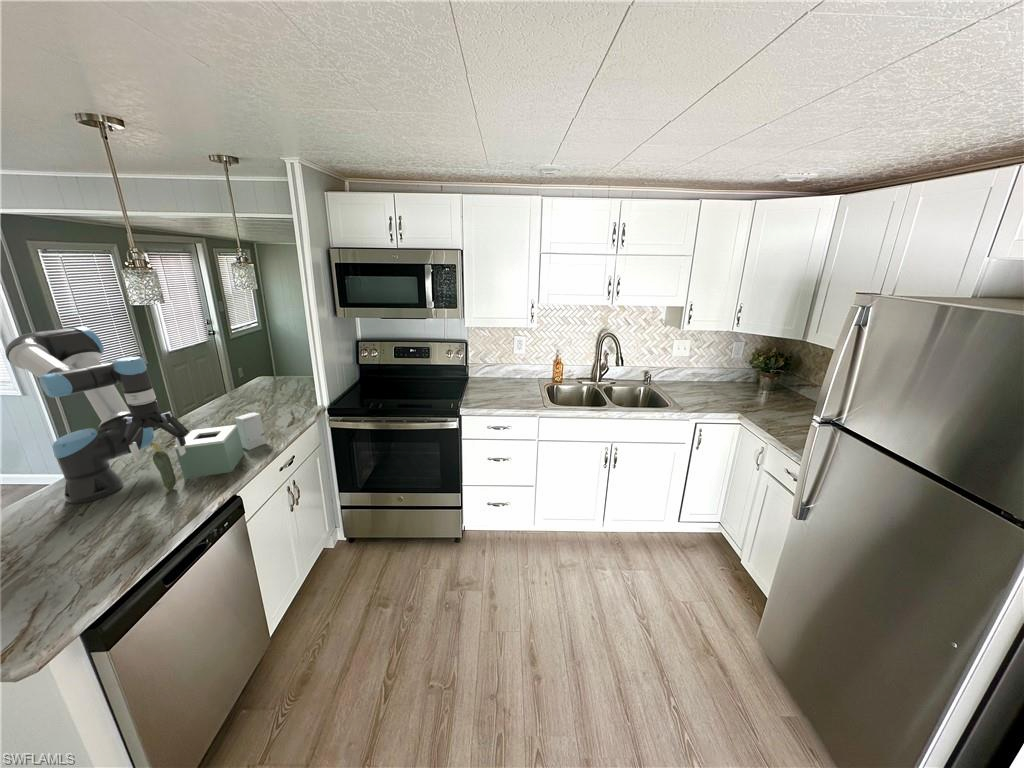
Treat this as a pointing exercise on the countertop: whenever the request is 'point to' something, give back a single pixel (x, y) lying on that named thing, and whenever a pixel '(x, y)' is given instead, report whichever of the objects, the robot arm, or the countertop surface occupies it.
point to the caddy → (211, 451)
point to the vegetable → (164, 466)
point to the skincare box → (250, 430)
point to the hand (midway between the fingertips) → (161, 457)
